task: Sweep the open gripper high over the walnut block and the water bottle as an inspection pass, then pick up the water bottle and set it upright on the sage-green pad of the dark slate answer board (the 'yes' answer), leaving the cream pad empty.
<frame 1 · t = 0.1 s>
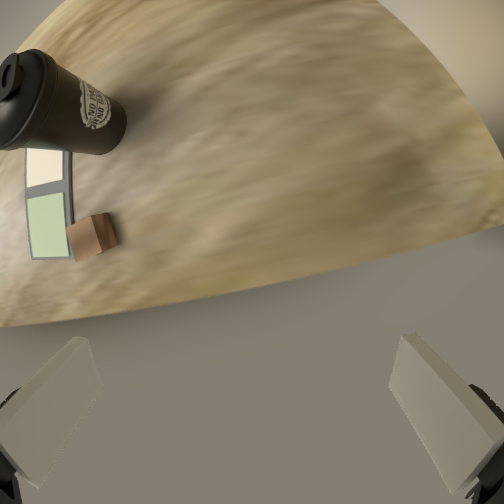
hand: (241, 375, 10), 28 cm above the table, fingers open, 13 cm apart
answer board: (47, 189, 36), on the table
water bottle: (102, 127, 34), on the table
walnut block: (100, 233, 37), on the table
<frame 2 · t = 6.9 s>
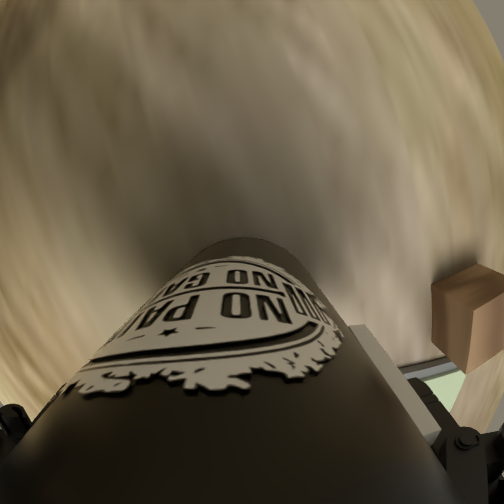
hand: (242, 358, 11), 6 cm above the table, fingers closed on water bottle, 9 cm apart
answer board: (345, 424, 19), on the table
water bottle: (244, 306, 17), on the table, touching gripper
walnut block: (455, 302, 17), on the table
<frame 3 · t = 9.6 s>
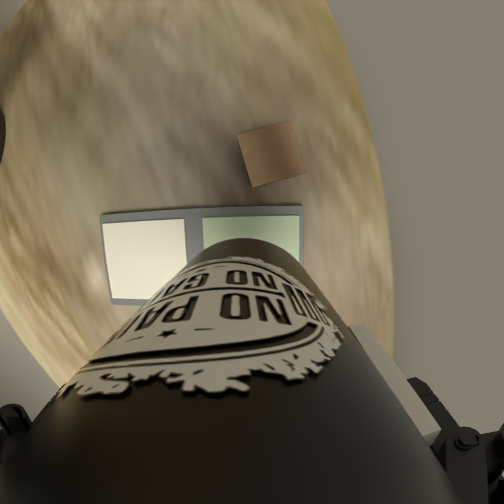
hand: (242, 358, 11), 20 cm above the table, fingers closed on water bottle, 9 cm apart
answer board: (197, 258, 31), on the table
water bottle: (244, 306, 17), point 14 cm above the table, touching gripper
walnut block: (268, 159, 29), on the table
when the fingers open (7 cm above the table, at t = 12.5 s): water bottle stays where it is, resting on answer board.
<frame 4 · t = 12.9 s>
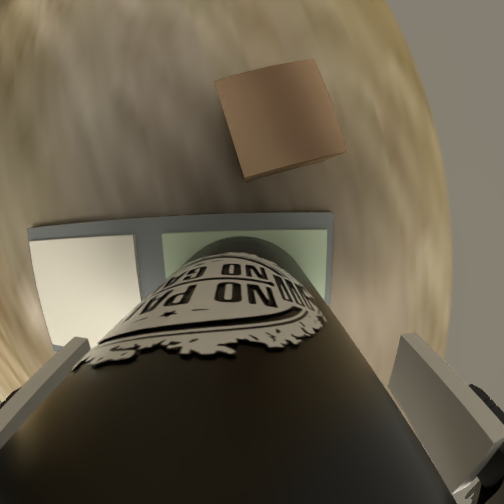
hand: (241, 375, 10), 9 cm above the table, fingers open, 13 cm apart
answer board: (160, 296, 19), on the table
water bottle: (242, 302, 18), point 1 cm above the table, touching answer board
walnut block: (273, 133, 16), on the table
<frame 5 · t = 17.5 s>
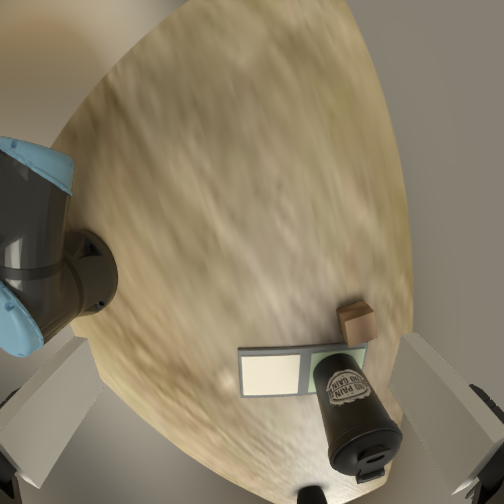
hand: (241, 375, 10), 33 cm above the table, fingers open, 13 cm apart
answer board: (303, 370, 47), on the table
water bottle: (335, 371, 46), point 1 cm above the table, touching answer board
walnut block: (351, 317, 45), on the table
mug: (310, 491, 58), on the table
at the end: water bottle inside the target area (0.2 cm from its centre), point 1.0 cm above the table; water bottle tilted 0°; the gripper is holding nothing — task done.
